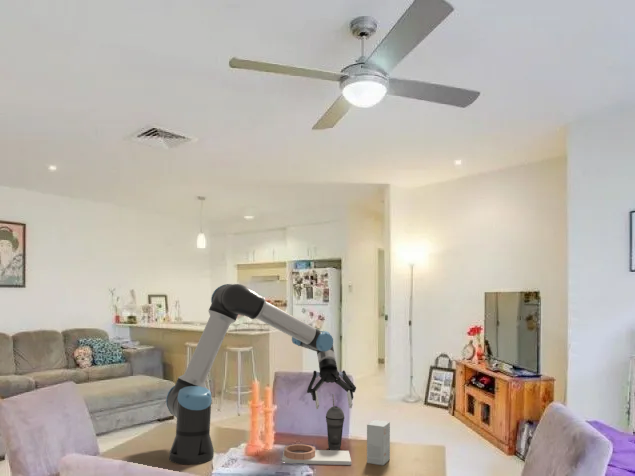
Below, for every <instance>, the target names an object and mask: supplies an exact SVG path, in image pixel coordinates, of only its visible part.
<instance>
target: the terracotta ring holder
mask: <svg viewBox="0 0 635 476" xmlns="http://www.w3.org/2000/svg"><path fill="white" fill-rule="evenodd" d="M315 450H316V447H315V446H313V445H308V444H303V443H302V444H301V443H299V444H297V443H296V444H290V445H289V444H288V445H287V446H285V447H284V449H283V451H284V456H285V457H287V458H290V459H294V460H306V459H311V458H313V457H315Z"/></svg>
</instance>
